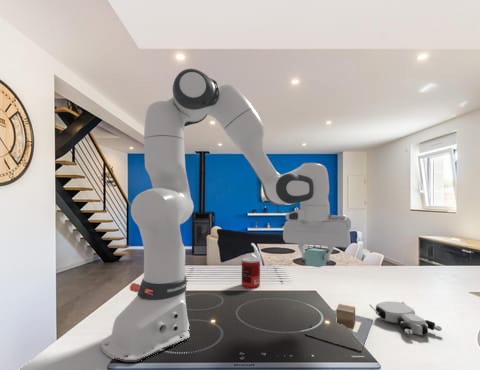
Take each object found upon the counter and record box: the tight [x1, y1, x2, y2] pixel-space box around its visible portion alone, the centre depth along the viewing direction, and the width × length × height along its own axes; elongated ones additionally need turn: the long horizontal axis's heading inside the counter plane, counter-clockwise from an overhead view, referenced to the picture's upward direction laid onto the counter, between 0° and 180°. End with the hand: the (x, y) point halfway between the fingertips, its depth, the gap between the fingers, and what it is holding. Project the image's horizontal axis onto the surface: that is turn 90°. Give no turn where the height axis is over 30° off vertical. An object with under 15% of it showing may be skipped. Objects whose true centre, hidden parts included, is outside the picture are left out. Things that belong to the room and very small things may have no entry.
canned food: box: [241, 256, 261, 290], centre depth 111 cm, size 8×8×11 cm
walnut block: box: [335, 303, 356, 329], centre depth 77 cm, size 4×4×4 cm
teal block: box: [304, 248, 327, 268], centre depth 82 cm, size 4×4×4 cm
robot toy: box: [369, 301, 443, 336], centre depth 77 cm, size 12×4×15 cm
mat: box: [332, 309, 374, 346], centre depth 75 cm, size 20×14×1 cm
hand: (315, 259), depth 82 cm, fingers closed on teal block, 5 cm apart
